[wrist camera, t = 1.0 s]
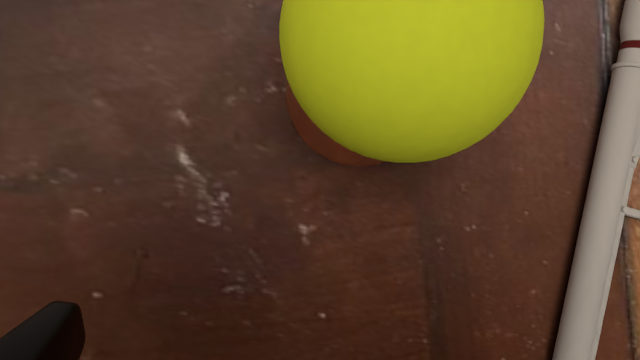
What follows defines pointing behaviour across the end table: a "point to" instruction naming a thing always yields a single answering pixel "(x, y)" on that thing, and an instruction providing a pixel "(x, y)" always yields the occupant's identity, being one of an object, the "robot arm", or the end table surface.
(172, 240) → the end table surface
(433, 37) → the ball
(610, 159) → the rocket launcher
